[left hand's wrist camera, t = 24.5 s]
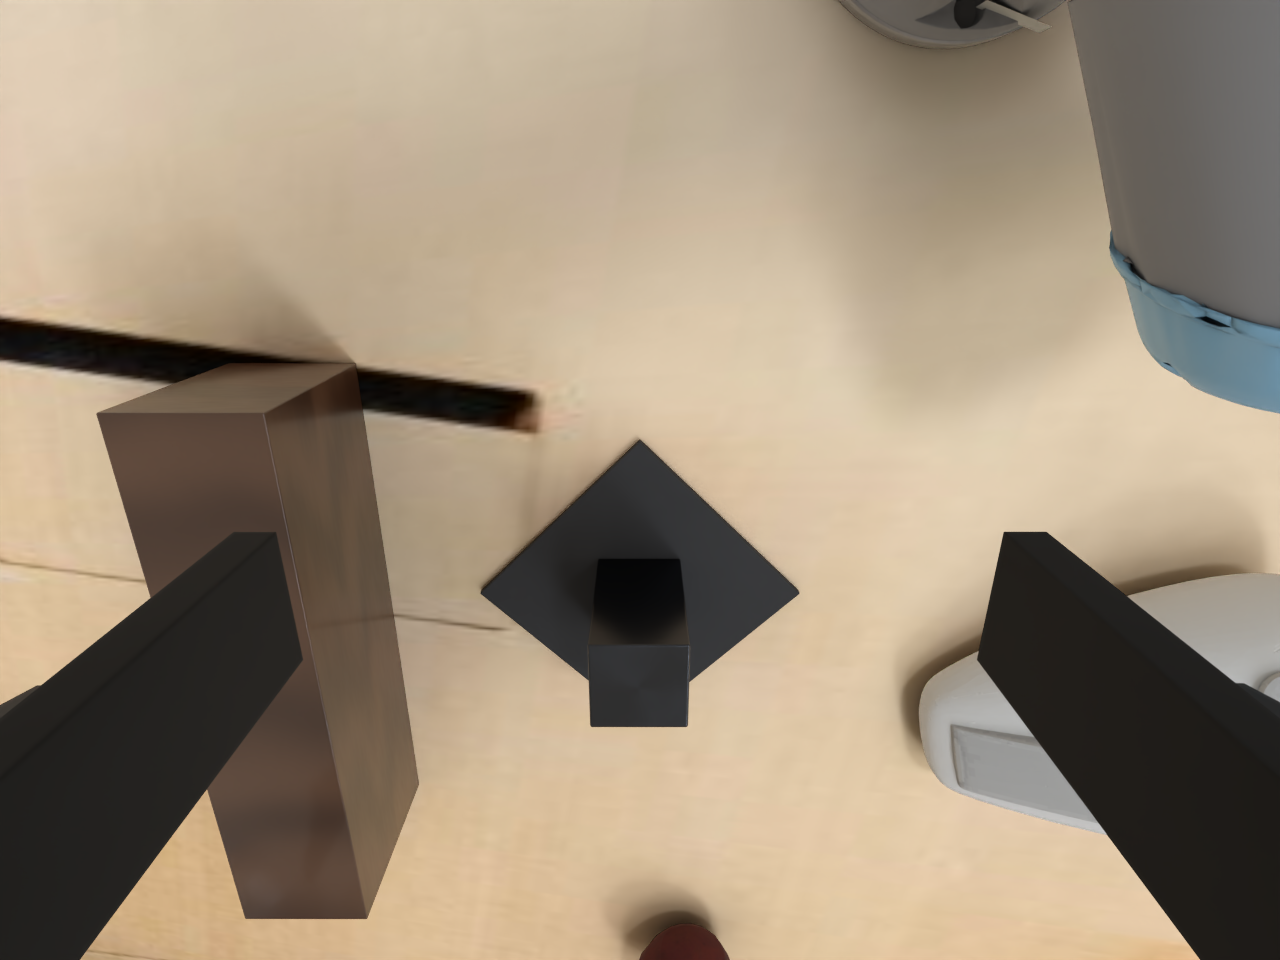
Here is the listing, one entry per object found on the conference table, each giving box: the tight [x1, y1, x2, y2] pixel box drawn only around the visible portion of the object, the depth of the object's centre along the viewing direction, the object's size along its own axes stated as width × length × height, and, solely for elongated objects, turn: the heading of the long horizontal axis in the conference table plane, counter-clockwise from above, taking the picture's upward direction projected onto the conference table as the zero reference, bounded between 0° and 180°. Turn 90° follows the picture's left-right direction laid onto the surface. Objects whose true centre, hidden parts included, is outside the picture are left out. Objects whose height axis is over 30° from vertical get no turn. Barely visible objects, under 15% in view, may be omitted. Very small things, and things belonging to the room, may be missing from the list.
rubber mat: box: [481, 440, 799, 682], centre depth 43 cm, size 14×14×1 cm
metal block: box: [588, 559, 690, 727], centre depth 39 cm, size 5×5×9 cm
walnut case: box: [97, 363, 419, 919], centre depth 39 cm, size 30×7×10 cm, turn 0°
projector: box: [919, 573, 1280, 835], centre depth 39 cm, size 22×23×15 cm
